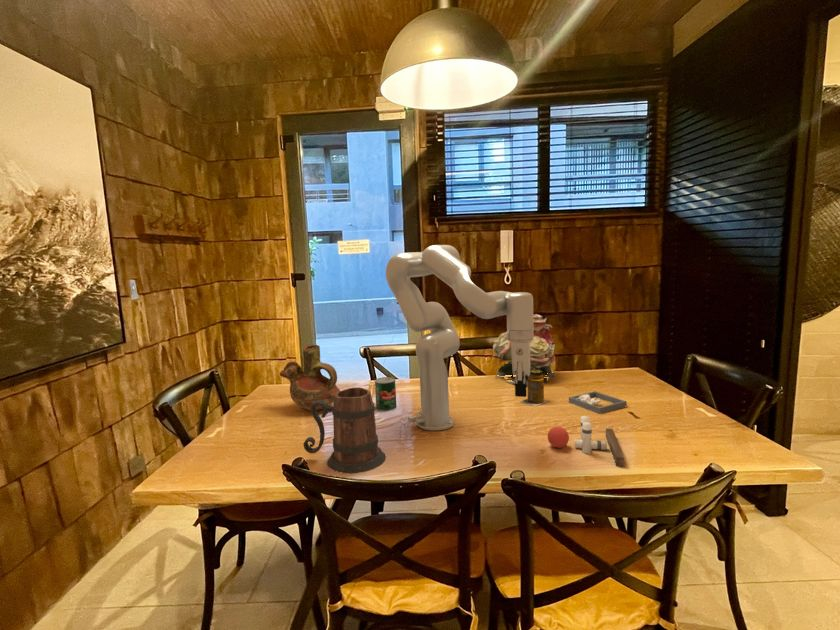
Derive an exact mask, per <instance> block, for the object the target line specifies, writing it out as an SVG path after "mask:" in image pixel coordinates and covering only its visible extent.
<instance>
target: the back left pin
mask: <svg viewBox="0 0 840 630" xmlns="http://www.w3.org/2000/svg"><path fill="white" fill-rule="evenodd" d="M590 419H591V417H590V416H587V415H582V416H580V440H582V428H583V422H589V423H591V422H590Z"/></svg>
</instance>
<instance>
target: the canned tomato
mask: <svg viewBox="0 0 840 630" xmlns="http://www.w3.org/2000/svg"><path fill="white" fill-rule="evenodd" d="M374 389H375V410H376V411H379V412H390V410H391V411H394V410H396V409H397V392H396V391H397V390H396V389H397V387H396V378H394V377H392V376H386V377H385V376H382V377H379V378H376V379H375V380H374ZM393 409H394V410H393Z"/></svg>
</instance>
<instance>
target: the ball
mask: <svg viewBox="0 0 840 630" xmlns="http://www.w3.org/2000/svg"><path fill="white" fill-rule="evenodd" d="M569 440H570V436H569V433H568V431H567V430H566V429H565V428H563V426H554V427H551V428H550V429H549V431H548V433H547V441H548V442H549V444H550V445H551V446H552V447H554V448H559V449H561V448H563V447H566V446H567V445H568V443H569Z"/></svg>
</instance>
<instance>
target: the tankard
mask: <svg viewBox="0 0 840 630" xmlns="http://www.w3.org/2000/svg"><path fill="white" fill-rule="evenodd" d="M316 405H320V406H322V409H321V413H322V414H321V416H320V415H319V413H318V410H317V411H316ZM375 411H376V404H375V402H374V401H373V397H372V393H371V390H370V389H366V388H364V387H358V386H357V387H347V388H346V389H343V390H340V391H338V392H336V393H335V396H334V403H333V404H332V407H330V406H329V405H328V404H327V403H326V402H324V401H322V400H318V401H316V402H314V404H313V405H312V406H311V411H310V412H311V413H310V414H311V415H312V417H313V419H314V421H315V422H316V424H317V427H318V429H319V442H318V443H319V444H318V445H317V446H316V447H314V446H315V444H316V439H315V438H314V437H312V436H308V437H306V439H305V440H304V441H303V449H304V450H305V451H306V452H307V454H308V453H309V454H316V453H318V452H319V451H320V449H321V448H322V446H323V445H324V440H325V425H324V422H323V420H322V419H323V418H325V417H326V416H327V415H328V413H329V412H331V414H332V416H333V417H332V419H333V421H332V423H333V438H332V447H333V452H332V453H330V457H329V458H328V459H327V461H326V466H327V467H328V469H330V468H331V469H332V471H333V470H334V472H336V471H337V472H336V473H340V472H342V474H360V473H365V472H370V471H372V470H375V469H377V468H378V467H380V466H381V465H383V464H384V462H386V459H387V456H386V454H385V452H384V451H382V448H381V447H379V435H378V434H377V426H376V425H377V424H376V416H375V414H376V413H375ZM331 469H330V470H331Z"/></svg>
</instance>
